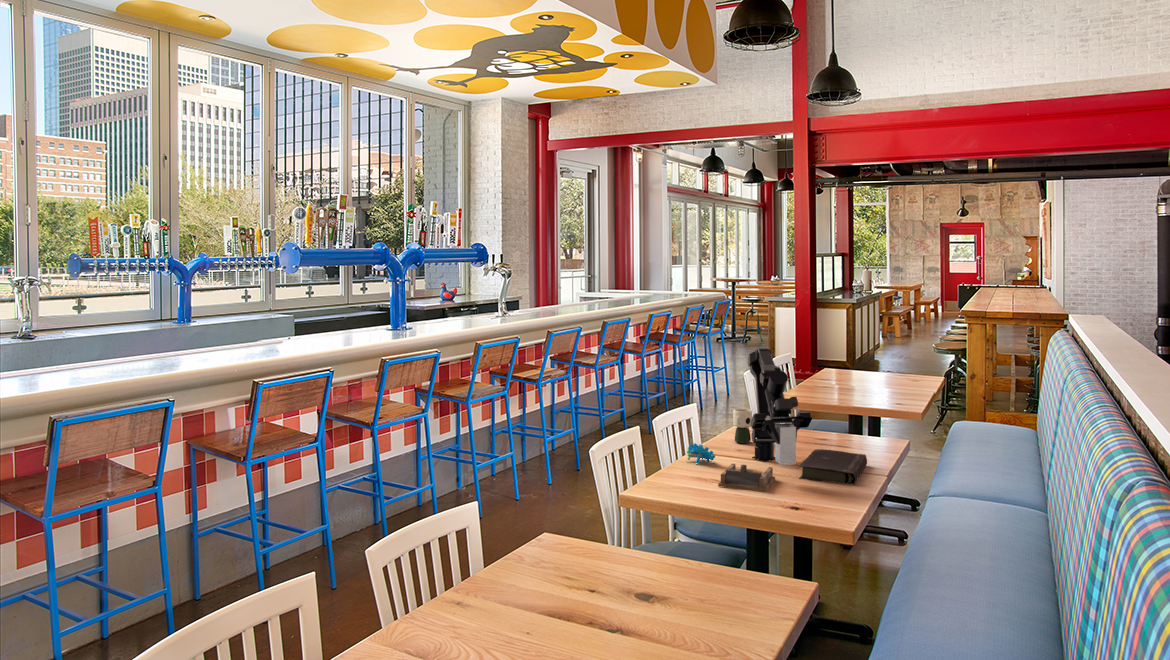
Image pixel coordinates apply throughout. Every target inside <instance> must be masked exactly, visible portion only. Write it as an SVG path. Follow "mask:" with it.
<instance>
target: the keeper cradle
mask: <svg viewBox="0 0 1170 660" xmlns="http://www.w3.org/2000/svg"><path fill="white" fill-rule="evenodd" d="M736 464H737V463H731V464H730V465H729V466H727V468H726V469H724V471H722V472H721V473H720V481H719V482H718V483H717V484H718V485H717V486H724V487H723V488H727V487H731V488H730V489H737V490H747V491H757V492H765V493H766V492H767V491H768V490H769V489H770V487H771V486H772V484H774V482H775V481H776V476H774V475H773V474H774V473H773V472H774V471H773V469H774V468H773V466H772V467H771V466H768V467H767V469H766V470H765V471H764V472H758V471H748V470H747V468H748V467H747V464H740V470H738V469H736V468H737V467H736V466H737V465H736Z"/></svg>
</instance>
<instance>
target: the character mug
mask: <svg viewBox="0 0 1170 660" xmlns="http://www.w3.org/2000/svg"><path fill="white" fill-rule="evenodd" d="M732 417H733V419H732V420H733V426H734V427H736V429H735V433H734V434H735V435H734V442H737V443H740V444H741V443H742V444H748V443H749V444H750V443H751V441H752V436H751V431H750V427H751V420H752V417H753V410H752V409H750V408H734V409H733V415H732Z"/></svg>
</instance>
